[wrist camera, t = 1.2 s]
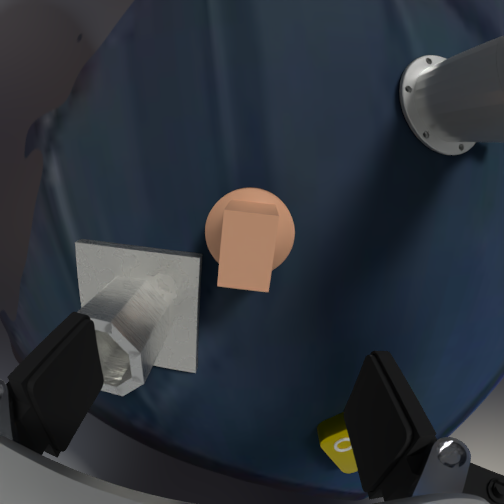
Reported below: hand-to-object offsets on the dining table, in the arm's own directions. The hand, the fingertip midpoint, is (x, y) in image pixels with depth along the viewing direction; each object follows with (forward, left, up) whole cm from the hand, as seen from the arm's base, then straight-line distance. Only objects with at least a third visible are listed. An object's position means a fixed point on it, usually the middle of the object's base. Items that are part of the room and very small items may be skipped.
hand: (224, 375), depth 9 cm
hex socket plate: (+13, +12, -24) cm, 30 cm away
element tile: (-24, +32, -25) cm, 47 cm away
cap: (0, 0, -24) cm, 24 cm away
